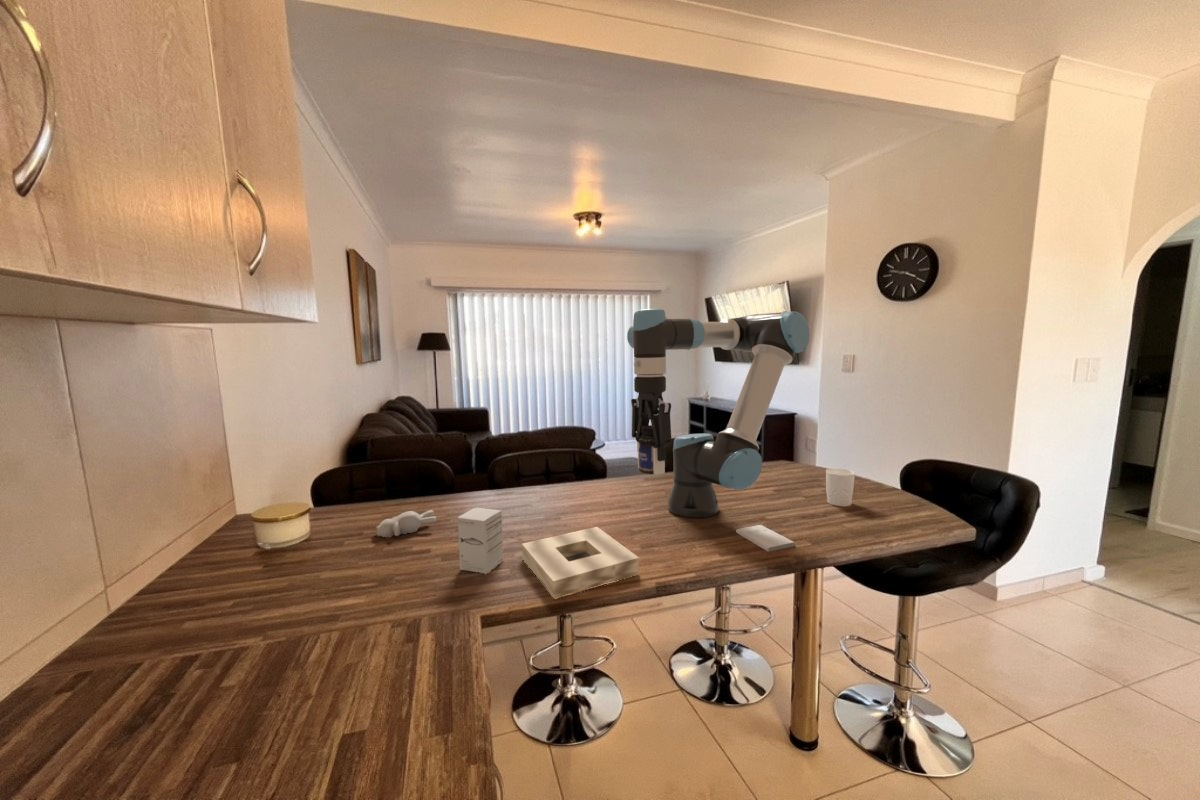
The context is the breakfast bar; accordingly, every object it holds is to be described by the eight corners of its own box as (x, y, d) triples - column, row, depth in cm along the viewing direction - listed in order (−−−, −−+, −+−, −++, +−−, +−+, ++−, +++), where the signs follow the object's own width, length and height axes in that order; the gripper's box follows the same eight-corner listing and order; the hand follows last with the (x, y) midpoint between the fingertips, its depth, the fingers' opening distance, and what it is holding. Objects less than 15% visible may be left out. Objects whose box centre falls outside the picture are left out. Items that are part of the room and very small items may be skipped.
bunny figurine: (375, 517, 127) (431, 502, 133) (379, 534, 127) (434, 518, 134) (375, 529, 118) (435, 512, 125) (379, 547, 119) (438, 529, 125)
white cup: (829, 506, 138) (830, 474, 137) (821, 498, 145) (822, 468, 144) (857, 507, 136) (859, 475, 135) (847, 499, 144) (849, 468, 143)
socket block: (597, 541, 117) (596, 526, 116) (639, 575, 99) (638, 557, 99) (522, 559, 107) (521, 543, 107) (553, 600, 90) (553, 581, 89)
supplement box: (459, 570, 103) (455, 517, 101) (478, 556, 110) (475, 506, 108) (486, 575, 100) (483, 520, 99) (504, 560, 107) (502, 509, 106)
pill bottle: (634, 470, 112) (633, 426, 111) (656, 466, 114) (655, 423, 113) (647, 476, 106) (646, 429, 105) (669, 472, 109) (668, 427, 107)
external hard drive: (768, 554, 109) (736, 534, 121) (795, 548, 112) (761, 529, 123) (768, 547, 109) (736, 528, 120) (795, 541, 112) (761, 523, 123)
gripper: (616, 374, 114) (618, 464, 117) (660, 378, 97) (661, 482, 100) (641, 373, 118) (642, 460, 120) (688, 376, 101) (688, 477, 103)
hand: (651, 470), depth 110 cm, fingers closed on pill bottle, 6 cm apart
